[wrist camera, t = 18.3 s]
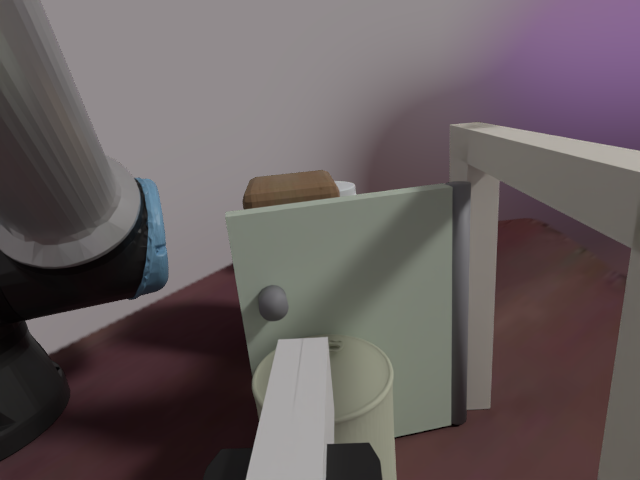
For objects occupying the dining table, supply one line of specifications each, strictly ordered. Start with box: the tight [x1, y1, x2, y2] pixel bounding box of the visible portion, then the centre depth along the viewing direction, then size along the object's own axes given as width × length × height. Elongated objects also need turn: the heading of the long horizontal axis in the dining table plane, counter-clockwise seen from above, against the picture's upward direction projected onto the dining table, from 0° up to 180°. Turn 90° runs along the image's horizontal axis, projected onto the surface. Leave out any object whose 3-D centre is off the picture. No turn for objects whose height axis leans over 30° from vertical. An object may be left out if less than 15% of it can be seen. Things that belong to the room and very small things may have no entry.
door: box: [225, 181, 471, 437], centre depth 33 cm, size 5×18×21 cm, turn 100°
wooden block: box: [243, 170, 340, 210], centre depth 50 cm, size 10×10×20 cm
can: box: [252, 334, 397, 480], centre depth 29 cm, size 9×9×12 cm
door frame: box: [450, 122, 640, 480], centre depth 27 cm, size 2×27×25 cm, turn 177°
